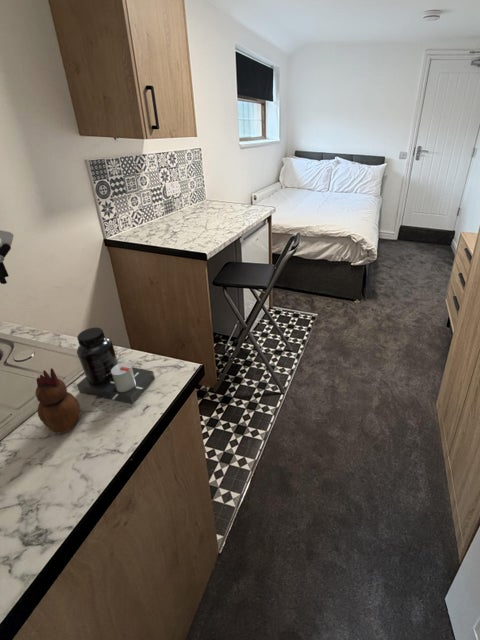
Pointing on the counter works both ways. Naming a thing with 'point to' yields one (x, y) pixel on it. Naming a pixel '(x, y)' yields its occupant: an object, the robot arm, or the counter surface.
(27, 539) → the counter surface
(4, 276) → the robot arm
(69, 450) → the counter surface
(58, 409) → the wooden figurine
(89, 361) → the supplement bottle
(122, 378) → the hob knob
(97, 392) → the hob
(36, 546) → the counter surface
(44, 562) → the counter surface
